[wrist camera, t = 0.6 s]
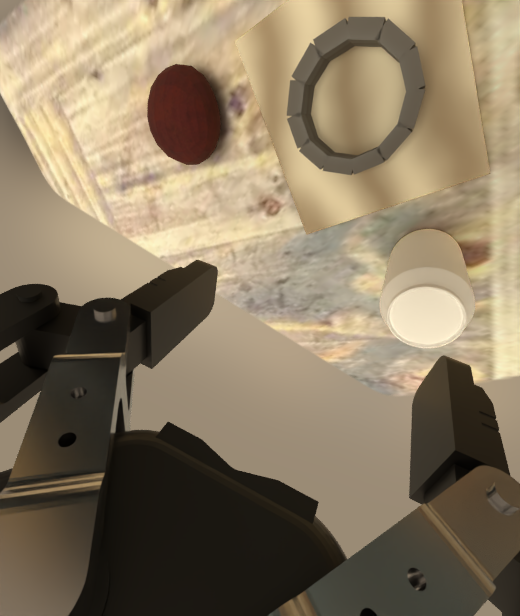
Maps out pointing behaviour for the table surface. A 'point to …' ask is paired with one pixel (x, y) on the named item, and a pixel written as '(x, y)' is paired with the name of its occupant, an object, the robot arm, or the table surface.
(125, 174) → the table surface
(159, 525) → the robot arm
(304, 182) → the ring board
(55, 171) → the table surface
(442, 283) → the beverage can
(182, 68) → the potato
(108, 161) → the table surface
